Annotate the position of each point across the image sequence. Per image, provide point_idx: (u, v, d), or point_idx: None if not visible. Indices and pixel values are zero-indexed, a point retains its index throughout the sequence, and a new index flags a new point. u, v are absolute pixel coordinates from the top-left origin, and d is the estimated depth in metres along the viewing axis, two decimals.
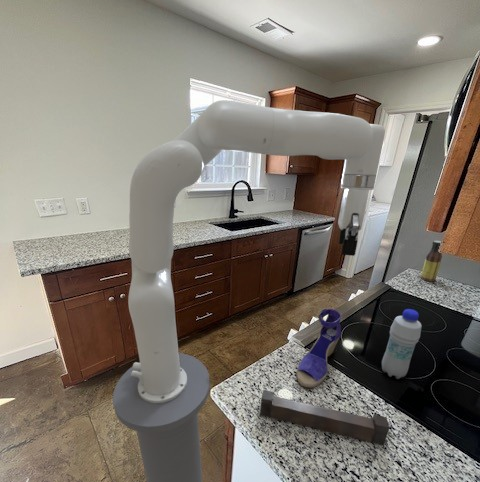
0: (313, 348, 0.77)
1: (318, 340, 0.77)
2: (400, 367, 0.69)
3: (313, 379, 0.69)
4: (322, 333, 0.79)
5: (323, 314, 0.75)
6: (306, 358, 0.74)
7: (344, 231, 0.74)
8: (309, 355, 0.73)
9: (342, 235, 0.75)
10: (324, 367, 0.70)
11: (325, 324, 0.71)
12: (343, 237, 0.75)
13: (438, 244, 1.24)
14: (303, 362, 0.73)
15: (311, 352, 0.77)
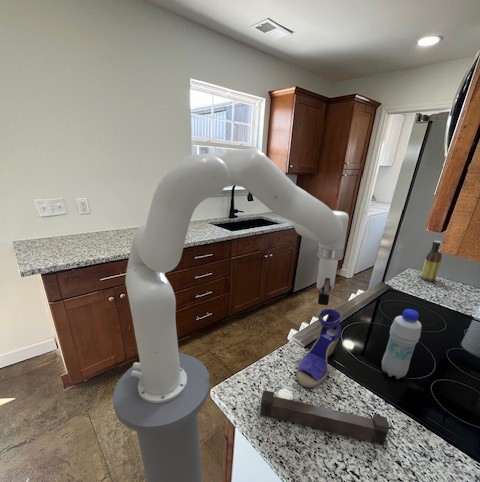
0: (313, 348, 0.77)
1: (318, 340, 0.77)
2: (400, 367, 0.69)
3: (313, 379, 0.69)
4: (322, 333, 0.79)
5: (323, 314, 0.75)
6: (306, 358, 0.74)
7: None
8: (309, 355, 0.73)
9: None
10: (324, 367, 0.70)
11: (324, 324, 0.71)
12: None
13: (438, 244, 1.24)
14: (303, 362, 0.73)
15: (311, 352, 0.77)
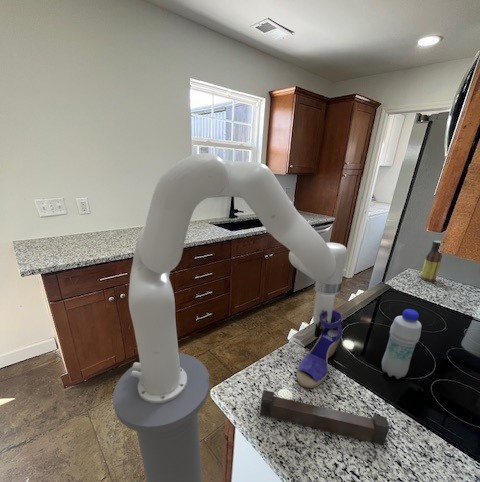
0: (314, 349, 0.77)
1: (319, 341, 0.77)
2: (400, 367, 0.69)
3: (313, 380, 0.69)
4: (323, 334, 0.79)
5: (324, 315, 0.75)
6: (306, 358, 0.73)
7: None
8: (309, 356, 0.73)
9: None
10: (324, 368, 0.70)
11: (325, 324, 0.71)
12: None
13: (438, 244, 1.24)
14: (303, 362, 0.73)
15: (312, 353, 0.76)
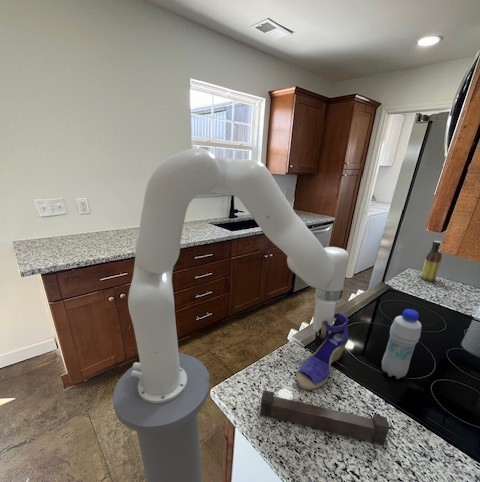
0: (317, 351, 0.76)
1: (324, 344, 0.76)
2: (400, 367, 0.69)
3: (312, 382, 0.68)
4: (329, 337, 0.77)
5: None
6: (308, 360, 0.73)
7: None
8: (311, 358, 0.72)
9: None
10: (325, 371, 0.69)
11: (329, 327, 0.70)
12: None
13: (438, 244, 1.24)
14: (305, 364, 0.72)
15: (315, 355, 0.75)
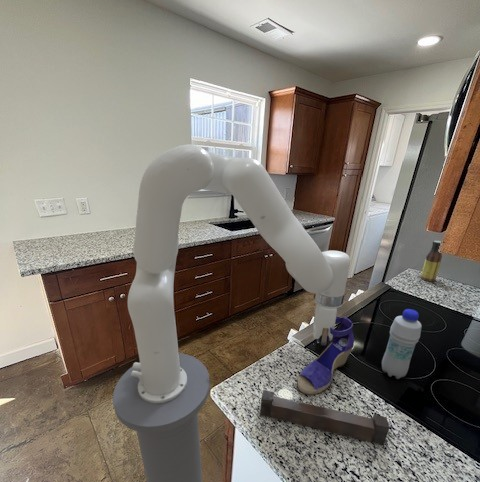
0: (321, 356, 0.74)
1: (328, 348, 0.74)
2: (400, 367, 0.69)
3: (313, 386, 0.67)
4: (334, 342, 0.75)
5: None
6: (310, 364, 0.71)
7: None
8: (314, 362, 0.71)
9: None
10: (326, 376, 0.67)
11: (332, 332, 0.68)
12: None
13: (438, 244, 1.24)
14: (307, 368, 0.71)
15: (318, 359, 0.74)
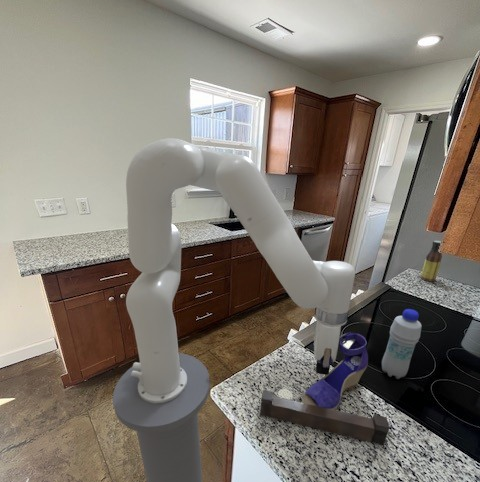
0: (330, 374, 0.68)
1: (338, 367, 0.68)
2: (400, 367, 0.69)
3: None
4: (345, 359, 0.69)
5: (346, 338, 0.65)
6: (317, 383, 0.65)
7: None
8: (321, 380, 0.65)
9: None
10: (334, 398, 0.61)
11: (343, 349, 0.62)
12: None
13: (438, 244, 1.24)
14: (313, 386, 0.65)
15: (327, 378, 0.68)
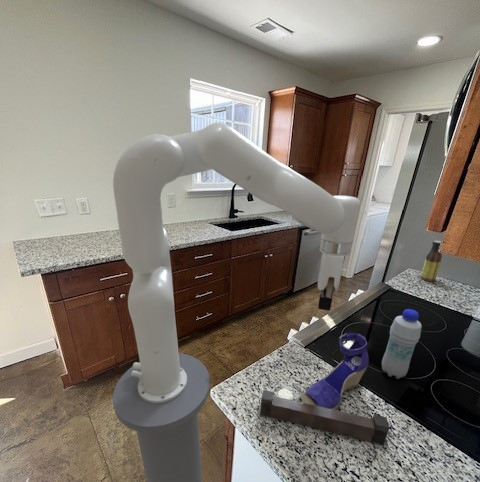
0: (331, 374, 0.68)
1: (339, 367, 0.68)
2: (400, 367, 0.69)
3: None
4: (346, 360, 0.69)
5: (347, 338, 0.65)
6: (318, 383, 0.65)
7: None
8: (321, 381, 0.65)
9: None
10: (334, 398, 0.61)
11: (343, 349, 0.62)
12: None
13: (438, 244, 1.24)
14: (313, 387, 0.65)
15: (327, 378, 0.68)
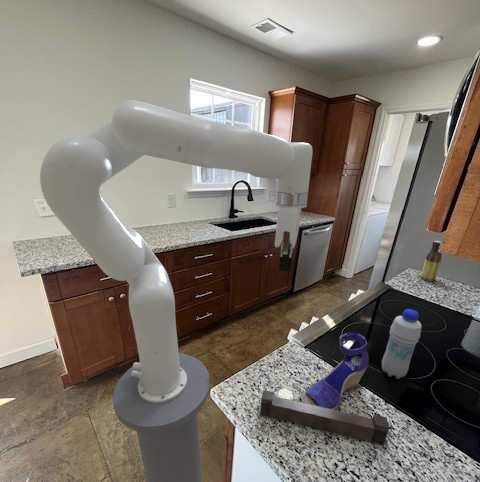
0: (331, 374, 0.68)
1: (339, 367, 0.68)
2: (400, 367, 0.69)
3: None
4: (346, 360, 0.69)
5: (347, 338, 0.65)
6: (318, 383, 0.65)
7: None
8: (321, 381, 0.65)
9: None
10: (334, 398, 0.61)
11: (343, 349, 0.62)
12: None
13: (438, 244, 1.24)
14: (313, 387, 0.65)
15: (327, 378, 0.68)
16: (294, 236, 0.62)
